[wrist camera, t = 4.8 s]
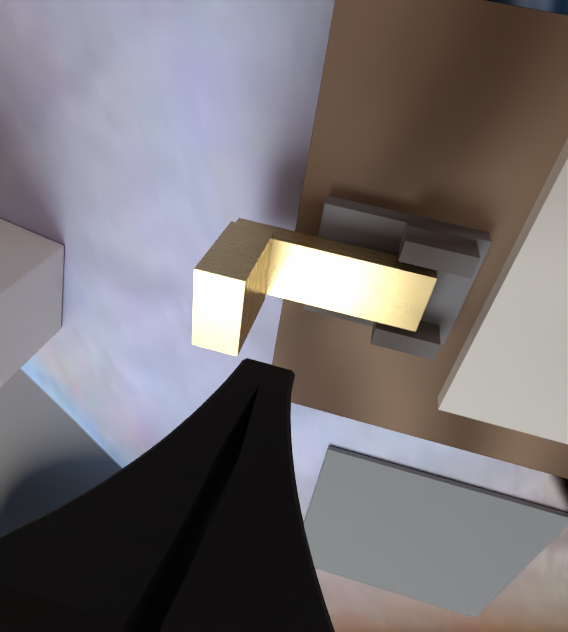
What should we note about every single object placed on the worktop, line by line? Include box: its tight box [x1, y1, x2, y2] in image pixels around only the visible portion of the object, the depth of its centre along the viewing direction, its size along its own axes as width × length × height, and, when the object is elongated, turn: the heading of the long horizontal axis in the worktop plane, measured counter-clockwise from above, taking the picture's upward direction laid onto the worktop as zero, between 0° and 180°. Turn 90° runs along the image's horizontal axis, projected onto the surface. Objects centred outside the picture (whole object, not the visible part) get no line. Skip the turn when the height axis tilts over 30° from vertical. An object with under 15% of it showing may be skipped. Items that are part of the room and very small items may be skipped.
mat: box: [304, 446, 568, 618], centre depth 31 cm, size 14×14×1 cm
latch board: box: [272, 0, 568, 479], centre depth 18 cm, size 20×18×3 cm
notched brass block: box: [192, 218, 437, 356], centre depth 16 cm, size 8×3×4 cm, turn 82°
